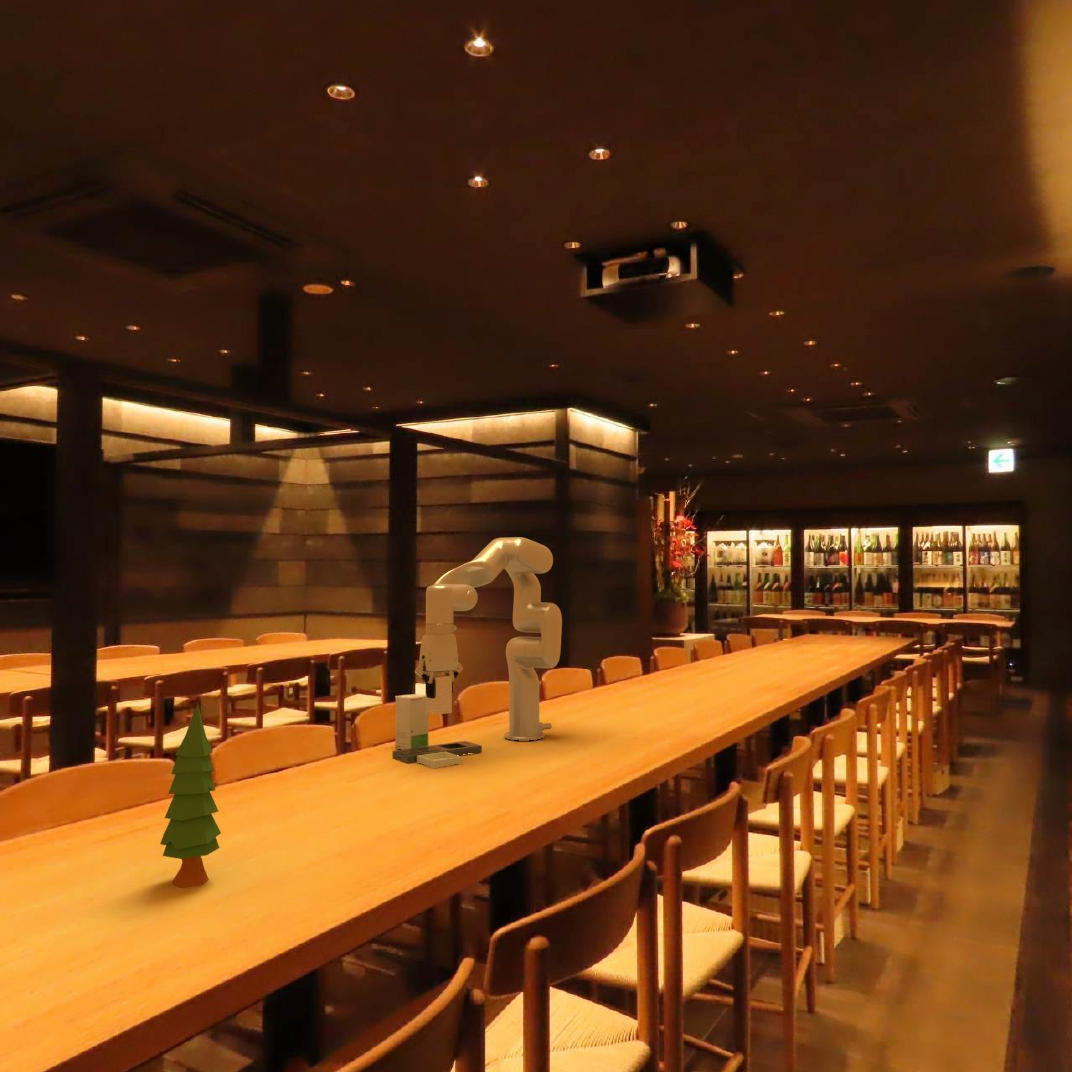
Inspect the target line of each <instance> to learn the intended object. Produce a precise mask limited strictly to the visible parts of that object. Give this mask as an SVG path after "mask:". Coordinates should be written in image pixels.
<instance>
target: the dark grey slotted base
mask: <svg viewBox="0 0 1072 1072" xmlns="http://www.w3.org/2000/svg"><path fill="white" fill-rule="evenodd" d="M439 752H448V753H451V754H454V755H463V754H468V753H476V754H481V753H480V752H482V753H483V745H480V744H477V743H473V742H470V741H467V740H463V741H457V742H456V741H454V742H447V743H440V744H434V745H428V746H424V747H417V748H410V749H402V750H398V749H395V750H392V759H394V758H396V759H395V760H397V759H398V760H397V761H399V760H400V761H399V762H402V761H403V762H402V763H406V764H415V763H417V756H418V755H425V754H432V753H439ZM463 756H464V755H463Z"/></svg>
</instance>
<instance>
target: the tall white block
mask: <svg viewBox="0 0 1072 1072" xmlns="http://www.w3.org/2000/svg"><path fill="white" fill-rule="evenodd" d="M432 683H433V684H434V698H427V713H428V714H432V715H436V716H437V715H444V714H453V713H452V712H453V703H452V702H453V698H452V697H453V693H452V676H449V675H445V674H443V673H442V674H441V673H440V674H434V678H433V681H432Z"/></svg>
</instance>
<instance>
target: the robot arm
mask: <svg viewBox="0 0 1072 1072" xmlns="http://www.w3.org/2000/svg"><path fill="white" fill-rule="evenodd" d="M553 564H554V557H553V553H552V552H551V550H550V549H549V548H548V547H547V546H545V545H543V544H541V543H539V542H537V541H534V540H531V539H528V538H526V537H522V536H521V537H520V536H519V537H517V536H515V537H498V538H493V540H491V541H490V542H489V543H488V544H487V545H486V546H485V547H484V548H482V550H481V551H480V552H479V553H478V554H477V555H476V556H475V557H474V558H473V559H472V560H471V561H467V562H465V563H464V564H462V565H460V566H457V567H455V568H453V569H452V570H449V571H447V572H446V573H444V574H443V575H441V576H440V578H439V579H437V580H436V581H435V582H434V583H433V584H432V585H429V586H427V587H426V590H425V635H422V638H421V643H420V650H419V660H418V662H419V663H418V665H417V667H416V668H415V670H414V674H415V675H417V676H419V678H420V679H422V681H423V683H424V684H425V695H426V697H427V698H434V684H433V683H432V681H433V678H434V675H436V674H435V673H444V675H449V676H452V694H453V693H454V684H453V683H454V682H455V680H456V678H457V677H458V676H459V674H460V673H461V672H462V671H463V670H464V666H463V665H462V664H461V663H460V661H459V654H458V653H459V651H458V643H457V638H456V635H455V634H454V632H455V631H457V630H458V626H457V625H455V624H454V612H467V611H470V610H472V609H473V608H474V607H475V606H476V605H477V603H478V597H479V596H478V593H477V590H476V589H475V588H480V587H482V586H483V587H484V586H485V585H487V584H490V583H492V582H493V581H494V580H495V579H496V578H497V577H498V575H499V574H500V573H502V571H503V570H505V571H506V573H507V574H508V575H509V577H510V580H511V582H512V584H513V604H512V605H513V607H512V609H513V610H512V625H513V627H514V629H515V630H517V631H518V632H522V633H537V634H540V635H541V636H539V637H538V636H537V637H536V636H516V637H513V638H511V639H510V640H509V641H508V642H507V644H506V645H505V646H506V647H505V658H506V661H507V669H508V732H505V733H504V734H503V736H504V737H505V738H507V739H506V740H508V739H511V740H510V741H514V740H519V741H518V742H530V741H529V740H534V741H538V740H537V739H540V740H542V739H541V738H543V737H544V738H545V733H544V732H543V731H545V730H552V728H553V725H552V723H550V722H546V723H543V722H541V721H540V679H539V676H538V674H537V672H536V670H535V669H553V668H554V667H556V666H557V665H558V663H559V661H560V659H561V658H560V657H561V647H562V634H563V631H562V630H563V629H562V628H563V617H562V612H561V609H560V608H559V606H557V604H555V603H553V602H542V600H541V598H542V596H541V595H542V594H541V593H542V590H541V589H542V587H541V583H540V581H539V579H538V577H537V576H536V575H535V574H540V575H541V574H545V573H547V572H549V571H550V570H551V569H552V566H553ZM504 737H503V738H504ZM505 738H504V739H505ZM544 738H543V739H544Z"/></svg>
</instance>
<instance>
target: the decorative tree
mask: <svg viewBox="0 0 1072 1072" xmlns="http://www.w3.org/2000/svg"><path fill="white" fill-rule="evenodd" d="M213 753H214V751H213V749H212V747H211V744H210V742H209V740H208V737H207V734H206V731H205V727H204V722H203V718H202V715H201V710H200V706H199V703H197V704H196V706H195V709H194V711H193V715H192V717H191V719H190V722H189V725H188V727H187V729H186V733H185V735H184V737H183V739H182V741H181V743H180V745H179V747H178V748H177V751H176V753H175V756H177V757H176V760H175V762H174V765H173V767H172V770H171V772H170V774H172V775H174V778H173V780H172V782H171V785H170V789H169V790H168V794H170V795H173V797H172V800H171V802H170V804H169V807H168V808H167V811H166V814H165V816H164V819H169V822H168V825H166V829H165V831H164V833H163V835H162V838H161V841H160V843H159V844H160V845H162V846H165V848H164V851H163V853H162V856H163V857H168V858H172V859H178V860H181V866H180V868H179V869H178V872H177V873H176V875H175V876H174V877H173V879H172V880H171V882H172V885H175V886H177V887H178V888H186V887H187V888H188V887H194V886H199V885H200V886H201V885H205V883H207V882H208V881H209V877H208V875H207V872H206V869H205V866H204V862H203V858H202V857H204V856H208V855H209V854H211V853H213V852H215V851H217V850H219V849H220V846H219V845H220V844H219V841H218V839H217V837H218V836H219V835H221V834H222V831H221V830H220V828H219V826H218V824H217V822H216V820H215V818H214V817H213V815H212V814H215V813H218V812H219V810H218V807H217V805H216V802H215V800H214V797H213V795H212V793H211V792H215V791H216V786H215V783H214V781H213V777H212V773H213V772H214V771H215V769H214V768H215V767H214V765H213V762H212V758H211V756H210V755H211V754H213Z"/></svg>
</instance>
